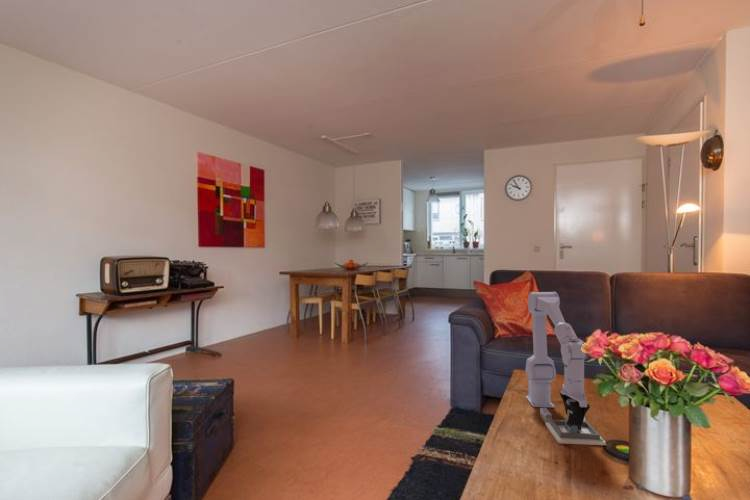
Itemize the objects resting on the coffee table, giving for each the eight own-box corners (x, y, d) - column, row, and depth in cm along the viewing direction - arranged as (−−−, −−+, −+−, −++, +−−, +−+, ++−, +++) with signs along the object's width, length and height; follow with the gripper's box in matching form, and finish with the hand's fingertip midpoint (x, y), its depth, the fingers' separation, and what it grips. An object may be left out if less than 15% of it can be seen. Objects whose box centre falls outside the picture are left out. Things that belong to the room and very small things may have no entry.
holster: (540, 415, 138) (540, 407, 138) (578, 417, 137) (578, 408, 137) (546, 423, 132) (546, 415, 132) (585, 425, 131) (585, 416, 131)
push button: (589, 435, 122) (589, 404, 122) (576, 438, 120) (576, 407, 120) (572, 426, 128) (572, 396, 128) (559, 428, 127) (560, 398, 126)
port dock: (545, 425, 131) (545, 417, 131) (588, 426, 130) (588, 419, 130) (558, 443, 120) (558, 435, 119) (605, 445, 118) (605, 437, 118)
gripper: (553, 370, 132) (553, 409, 132) (570, 386, 118) (570, 430, 118) (574, 371, 131) (574, 410, 132) (594, 387, 117) (594, 431, 117)
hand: (574, 419), depth 125 cm, fingers open, 6 cm apart
